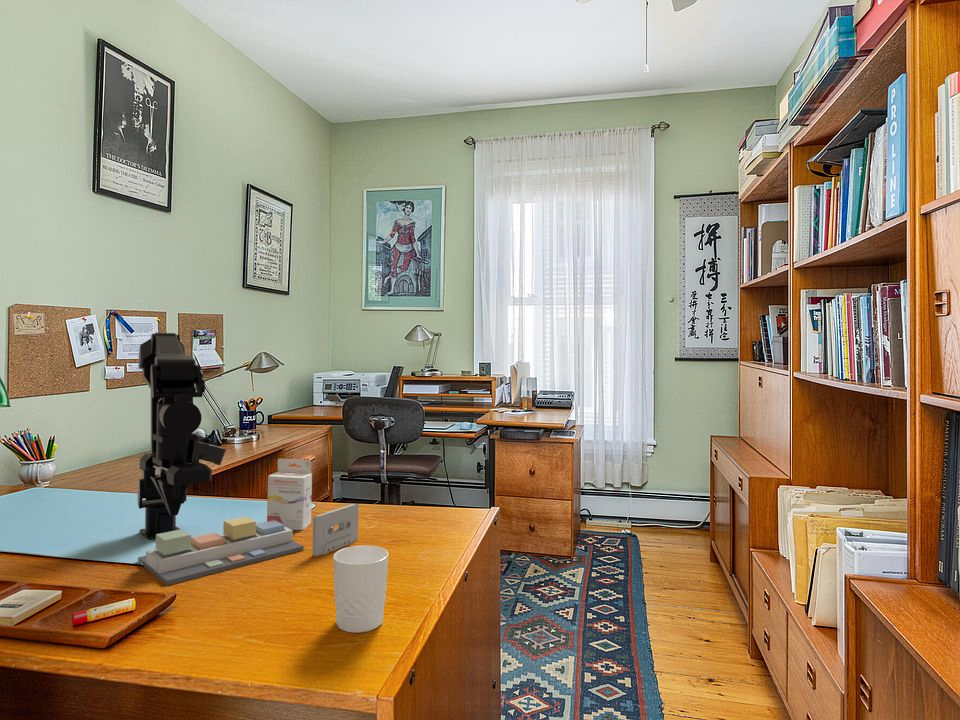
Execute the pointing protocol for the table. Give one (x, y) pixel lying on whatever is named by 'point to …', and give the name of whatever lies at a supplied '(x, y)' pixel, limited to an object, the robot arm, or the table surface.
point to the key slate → (269, 527)
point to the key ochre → (239, 528)
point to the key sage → (173, 541)
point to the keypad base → (218, 556)
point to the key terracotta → (207, 541)
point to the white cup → (360, 587)
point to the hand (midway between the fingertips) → (173, 515)
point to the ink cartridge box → (290, 494)
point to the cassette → (334, 539)
